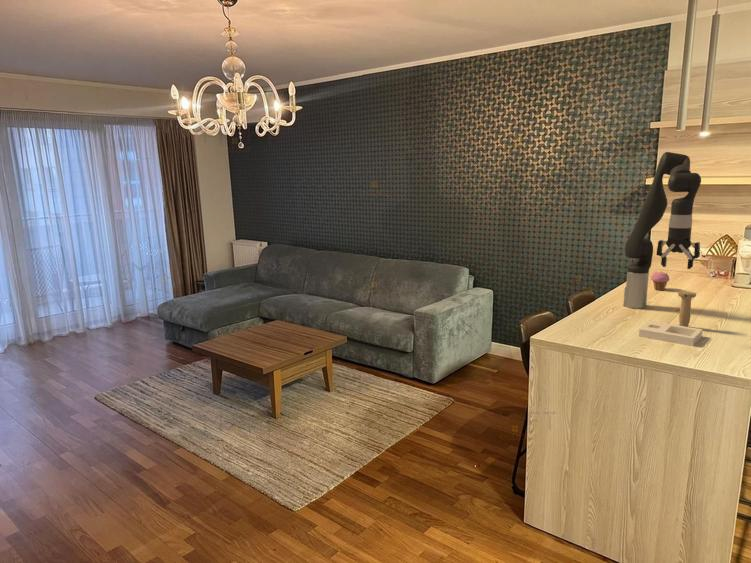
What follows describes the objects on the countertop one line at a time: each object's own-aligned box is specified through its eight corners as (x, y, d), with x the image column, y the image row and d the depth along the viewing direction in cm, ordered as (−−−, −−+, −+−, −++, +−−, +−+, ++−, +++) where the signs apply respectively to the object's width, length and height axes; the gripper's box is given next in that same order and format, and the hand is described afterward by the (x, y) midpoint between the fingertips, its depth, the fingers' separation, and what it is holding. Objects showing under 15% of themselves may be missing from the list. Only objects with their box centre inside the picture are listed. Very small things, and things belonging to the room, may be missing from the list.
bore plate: (638, 336, 203) (639, 329, 203) (649, 327, 213) (650, 320, 212) (692, 346, 190) (693, 338, 190) (701, 336, 200) (702, 329, 199)
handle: (676, 324, 216) (679, 290, 213) (693, 326, 212) (696, 292, 209) (674, 327, 212) (677, 293, 209) (691, 329, 208) (695, 294, 205)
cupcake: (668, 292, 269) (669, 273, 267) (649, 290, 274) (651, 272, 271) (668, 288, 276) (670, 270, 274) (650, 287, 281) (652, 269, 279)
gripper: (704, 226, 190) (699, 268, 193) (662, 224, 200) (659, 264, 203) (699, 228, 185) (695, 271, 188) (656, 226, 194) (653, 267, 198)
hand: (676, 267), depth 196 cm, fingers open, 8 cm apart
